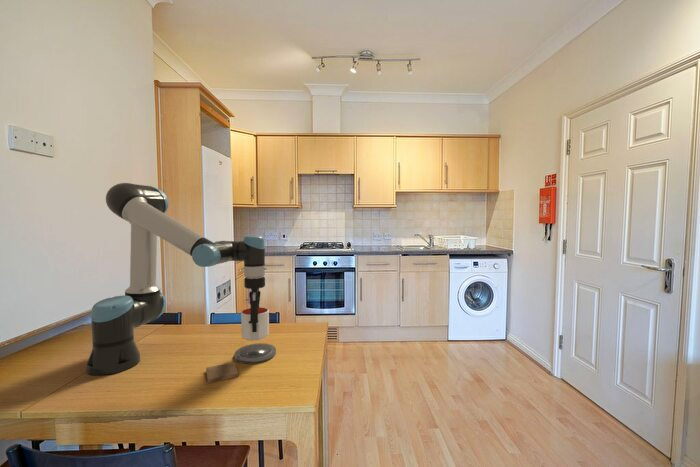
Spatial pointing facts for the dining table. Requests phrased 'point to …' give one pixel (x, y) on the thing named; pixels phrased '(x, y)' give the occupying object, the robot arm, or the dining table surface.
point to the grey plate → (255, 353)
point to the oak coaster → (221, 372)
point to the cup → (262, 323)
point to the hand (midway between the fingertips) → (255, 334)
